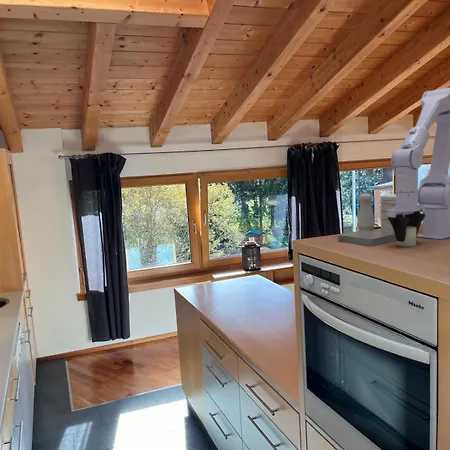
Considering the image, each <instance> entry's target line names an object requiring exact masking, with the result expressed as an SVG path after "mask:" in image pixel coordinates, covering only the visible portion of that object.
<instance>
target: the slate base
mask: <svg viewBox="0 0 450 450" xmlns="http://www.w3.org/2000/svg"><path fill="white" fill-rule="evenodd" d="M337 236H338V237H337V238H338V241H337V242H339V243H340V242H341V243H347V244H353V245H359V246H360V245H361V246H367V247H373V246H378V245H382V244H383V245H384V244H386V243H391V242H395V241H396V242H397V240H396V236H395V234H394V233H386V232H381V231H378V230H377V231H376V230H373V231H369V230H361V231H359V230H357V231H352V232H348V233H340V234H338V235H337Z"/></svg>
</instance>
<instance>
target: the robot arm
mask: <svg viewBox="0 0 450 450" xmlns="http://www.w3.org/2000/svg"><path fill="white" fill-rule="evenodd" d="M420 102H421V103H420V106H421V111H420V114H419V117H418V119H417V121H416V125H415V126H414V127H411V128H410V129H409V130H408V132H407V133H406V136H405V138H404V140H403V142H402V144H401V146H400V148H398V149H396V150H395V151H394V152H393V153H392V155H391V159H390V164H391V167H392V171H393V175H394V176H395V194H396V207H393V209H390V210H387V217H388V220H389V221H390V223H391V225H392V227H393V230H394V233H395V236H396V242H397V241H401V242H404V241H405V236H406V227H407V226H413V227H416V239H417V238H418V237H420V238H427V239H434V240H443V239H447V238H450V176H449V170H450V87H446V88H440V89H434V90H433V89H432V90H426V91H424V93H423V94H422V97H421V98H420ZM433 123H436V127H435V128H436V129H435V133H434V134H435V135H434V141H433V149H432V155H431V161H430V167H429V174H428V175H426V176H425V177H424V178H422V179H421V180H420V181H419V169H420V168H421V166H422V165H423V160H424V154H425V153H424V149H425V148H426V145H427V143H428V141H429V139H430V138H431V137H430V136H431V135H430V132H429V130H430V128H431V127H432V125H433ZM418 181H419V182H418ZM403 215H404V216H403ZM421 224H422V233H420V234H418V233H419V230H420V227H421Z"/></svg>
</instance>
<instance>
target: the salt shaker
mask: <svg viewBox="0 0 450 450" xmlns="http://www.w3.org/2000/svg"><path fill="white" fill-rule="evenodd" d="M372 200H373V195H372V194H371V193H361V194H359V195H358V201H359V202H360V206H359V210H358V211H359V212H358V216H357V221H356V227H357V229H358V231H361V230H369V231H374V229H375V225H376V224H375V219H374V213H373V208H372V203H371V201H372Z"/></svg>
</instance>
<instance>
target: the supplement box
mask: <svg viewBox="0 0 450 450" xmlns="http://www.w3.org/2000/svg"><path fill="white" fill-rule="evenodd" d="M393 207H396V193H392V194H386V195H381V196H380V232H386V233H394V230H393V227H392V225H391V223H390V221H389V220H388V217H387V210H390V209H393ZM403 216H404V215H403ZM394 234H395V233H394Z"/></svg>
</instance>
